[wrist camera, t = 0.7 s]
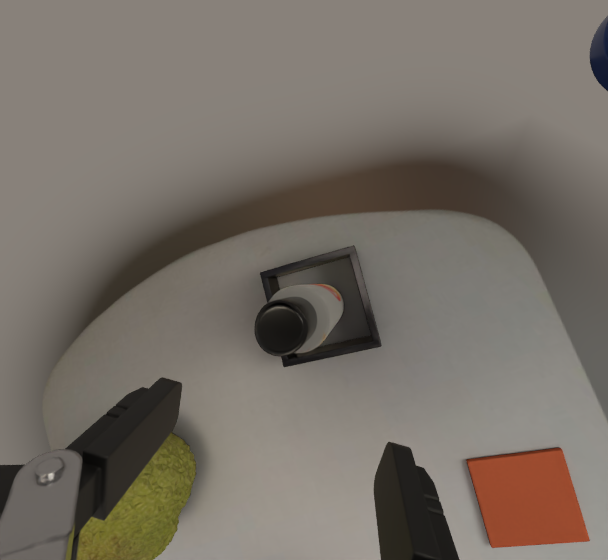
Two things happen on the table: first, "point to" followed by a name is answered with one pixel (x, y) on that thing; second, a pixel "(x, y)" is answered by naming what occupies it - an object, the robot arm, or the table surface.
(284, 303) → the lotion bottle
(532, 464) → the mat
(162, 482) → the fruit
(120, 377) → the table surface
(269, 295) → the holder
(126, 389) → the table surface
